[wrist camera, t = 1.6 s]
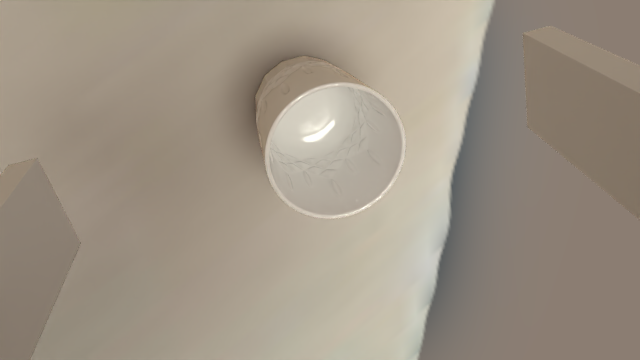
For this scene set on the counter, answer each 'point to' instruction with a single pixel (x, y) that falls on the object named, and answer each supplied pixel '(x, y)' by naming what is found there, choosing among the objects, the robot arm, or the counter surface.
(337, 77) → the white cup
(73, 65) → the counter surface
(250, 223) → the counter surface
